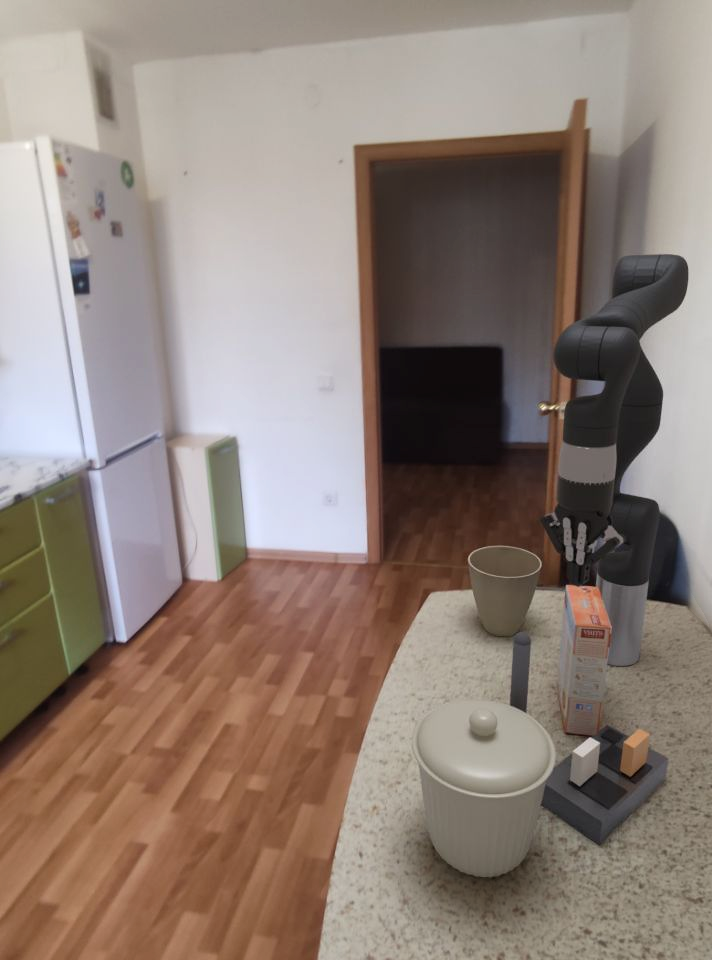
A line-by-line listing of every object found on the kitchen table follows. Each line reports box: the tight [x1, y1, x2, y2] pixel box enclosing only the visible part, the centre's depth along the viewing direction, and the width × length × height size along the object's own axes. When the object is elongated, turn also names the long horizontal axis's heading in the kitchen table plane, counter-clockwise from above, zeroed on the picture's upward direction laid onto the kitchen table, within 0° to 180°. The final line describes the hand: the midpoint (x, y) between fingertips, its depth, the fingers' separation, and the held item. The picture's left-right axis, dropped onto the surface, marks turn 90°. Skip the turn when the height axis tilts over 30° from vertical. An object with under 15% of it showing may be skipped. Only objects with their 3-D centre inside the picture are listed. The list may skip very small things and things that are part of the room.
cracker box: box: [556, 584, 612, 737], centre depth 112 cm, size 14×6×21 cm, turn 168°
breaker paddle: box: [620, 728, 651, 777], centre depth 95 cm, size 4×2×5 cm, turn 129°
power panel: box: [541, 724, 669, 846], centre depth 97 cm, size 18×10×4 cm, turn 129°
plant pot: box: [467, 545, 543, 637], centre depth 139 cm, size 15×15×16 cm
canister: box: [411, 698, 557, 878], centre depth 86 cm, size 18×18×21 cm
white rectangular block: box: [570, 736, 600, 786], centre depth 94 cm, size 4×2×5 cm, turn 129°
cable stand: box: [509, 631, 532, 713], centre depth 96 cm, size 7×7×25 cm
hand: (577, 583), depth 97 cm, fingers closed
